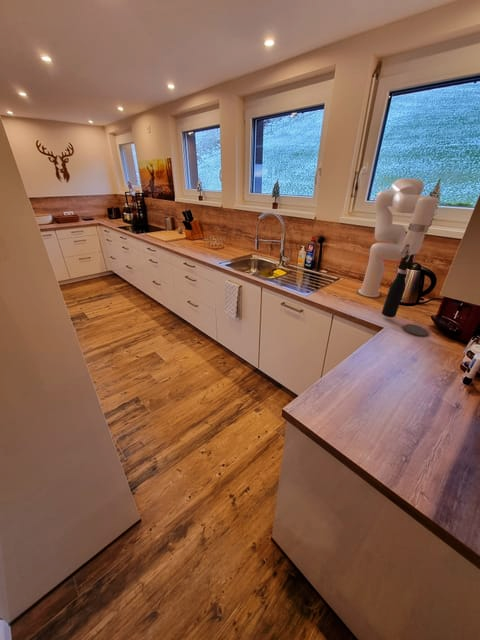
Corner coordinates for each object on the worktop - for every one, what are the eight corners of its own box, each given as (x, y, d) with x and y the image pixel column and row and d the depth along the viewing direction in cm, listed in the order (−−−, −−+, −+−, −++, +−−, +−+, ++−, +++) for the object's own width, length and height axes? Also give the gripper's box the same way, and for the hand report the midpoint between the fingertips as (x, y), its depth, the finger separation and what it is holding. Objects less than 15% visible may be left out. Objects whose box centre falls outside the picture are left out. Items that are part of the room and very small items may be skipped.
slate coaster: (409, 323, 133) (409, 322, 133) (430, 332, 126) (431, 330, 126) (399, 329, 128) (400, 327, 127) (421, 338, 121) (422, 337, 120)
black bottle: (392, 318, 131) (413, 259, 117) (379, 313, 136) (398, 256, 121) (397, 314, 135) (418, 257, 121) (384, 310, 139) (403, 254, 125)
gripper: (417, 225, 121) (404, 263, 130) (400, 228, 113) (387, 269, 121) (435, 228, 116) (420, 267, 125) (419, 231, 107) (404, 274, 116)
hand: (404, 268), depth 123 cm, fingers closed on black bottle, 3 cm apart
